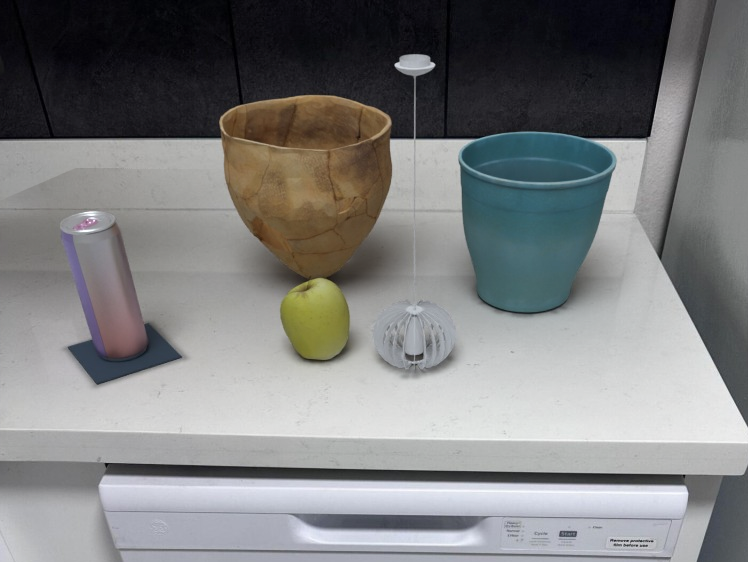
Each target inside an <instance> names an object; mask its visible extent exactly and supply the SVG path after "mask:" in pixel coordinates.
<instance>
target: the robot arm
mask: <svg viewBox="0 0 748 562" xmlns="http://www.w3.org/2000/svg"><path fill="white" fill-rule="evenodd" d="M4 73H5V66H4V62H3V58H2V56H1V54H0V75H1V74H4Z"/></svg>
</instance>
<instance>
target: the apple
mask: <svg viewBox="0 0 748 562" xmlns="http://www.w3.org/2000/svg"><path fill="white" fill-rule="evenodd" d="M310 278H311V276H310V277H309V279H308V281H305V282H302V283H300V284H298V285H296V286H295V287H293V288H291V289H290V290H289V291H288V292H287V294H286V295H285V296H284V297H283V299H282V300H281V303H280V307H279V315H280V321H281V325H282V328H283V330H284V333H285V335H286V336H287V338H288V340H289V342H290V343H291V345H292V347H293V349H294V350H296V352H297V353H298V354H299V355H300V356H301V357H302V358H304V359H307V360H318V361H319V360H320V361H321V360H322V361H323V360H325V361H326V360H327V361H328V360H331V359H333V358H334V357H336V356H337V355H339V354H340V353H341V352H342V350H343V349H344V348H345V346H346V345H347V342H348V339H349V336H350V335H349V334H350V327H351V326H350V325H351V316H350V308H349V304H348V301H347V299H346V296H345V294H344V293H343V291H342V290H341V289H340V287H339V286H338V285H337V284H336V283H334V282H333V281H331V280H329V279H327V278H317V279H313V280H310Z"/></svg>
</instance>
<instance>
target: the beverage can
mask: <svg viewBox="0 0 748 562" xmlns="http://www.w3.org/2000/svg"><path fill="white" fill-rule="evenodd" d="M59 228H60V237H61V241H62V244H63V247H64V251H65V254H66V255H65V256H66V258H67V261H68V264H69V268H70V270H71V275H72V278H73V281H74V284H75V287H76V291H77V294H78V297H79V300H80V304H81V307H82V310H83V311H82V312H83V314H84V317H85V321H86V324H87V327H88V330H89V334H90V337H91V340H92V341H93V344H94V347H95V351H96V352H97V354H98V355H100V356H101V357H102V358H103V359H105V360H108V361H113V362H122V361H128V360H132V359H134V358H137V357H139V356H140V355H142V354H143V353H144V352H145V350H146V348H147V345H148V338H147V334H146V330H145V326H144V324H145V323H144V319H143V315H142V310H141V307H140V303H139V299H138V298H139V297H138V294H137V291H136V286H135V282H134V278H133V274H132V270H131V266H130V261H129V258H128V253H127V251H126V246H125V241H124V238H123V234H122V230H121V227H120V225H119V223H118V222H117V217H116V216H115V215H114V214H112V213H110V212H108V211H100V210H98V211H97V210H96V211H95V210H94V211H84V212H78V213H74V214H72V215H69V216H66V217H65V218H64V219H62V220H61V221H60V223H59Z"/></svg>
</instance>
